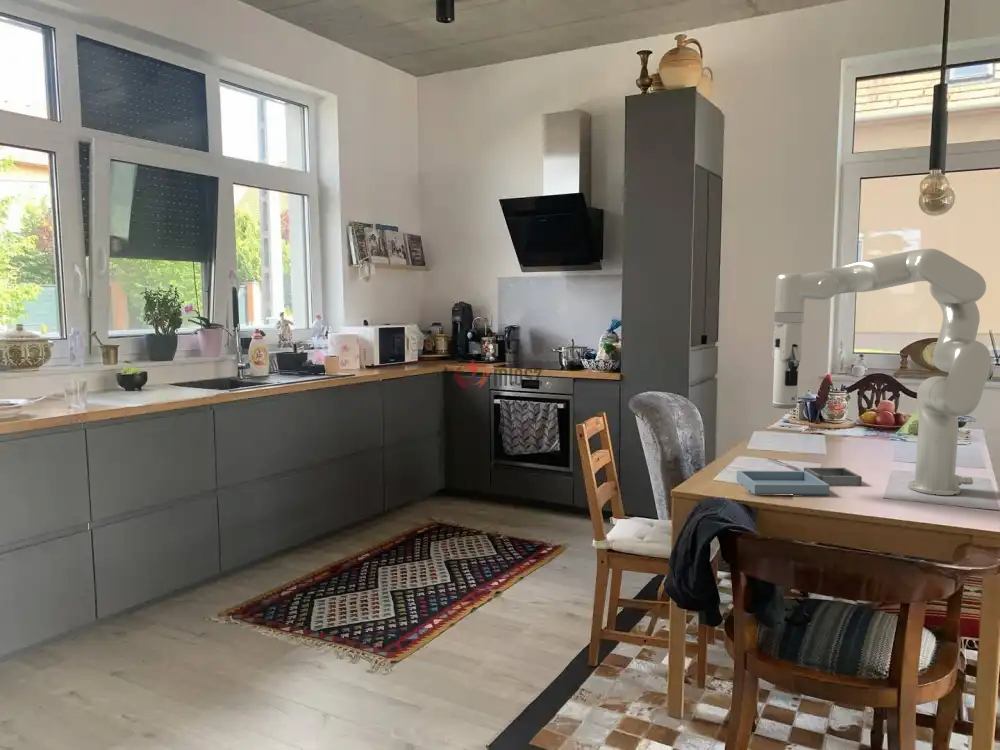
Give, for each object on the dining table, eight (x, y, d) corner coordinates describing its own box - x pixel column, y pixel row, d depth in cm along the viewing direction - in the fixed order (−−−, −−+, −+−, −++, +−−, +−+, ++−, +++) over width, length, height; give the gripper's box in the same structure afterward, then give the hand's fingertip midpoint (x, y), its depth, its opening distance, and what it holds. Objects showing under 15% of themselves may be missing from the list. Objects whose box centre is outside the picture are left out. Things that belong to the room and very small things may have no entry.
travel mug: (800, 409, 202) (803, 335, 200) (774, 408, 204) (777, 335, 201) (795, 405, 208) (798, 334, 206) (770, 405, 210) (773, 334, 208)
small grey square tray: (843, 475, 223) (844, 467, 222) (861, 485, 212) (861, 476, 211) (803, 475, 223) (804, 467, 222) (818, 485, 212) (819, 476, 212)
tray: (805, 481, 216) (806, 471, 216) (829, 496, 200) (829, 485, 200) (736, 480, 217) (736, 470, 216) (754, 495, 201) (754, 484, 200)
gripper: (764, 317, 212) (762, 380, 214) (786, 320, 195) (784, 388, 197) (790, 317, 212) (788, 380, 214) (815, 320, 195) (812, 388, 197)
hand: (786, 383), depth 205 cm, fingers closed on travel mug, 6 cm apart
